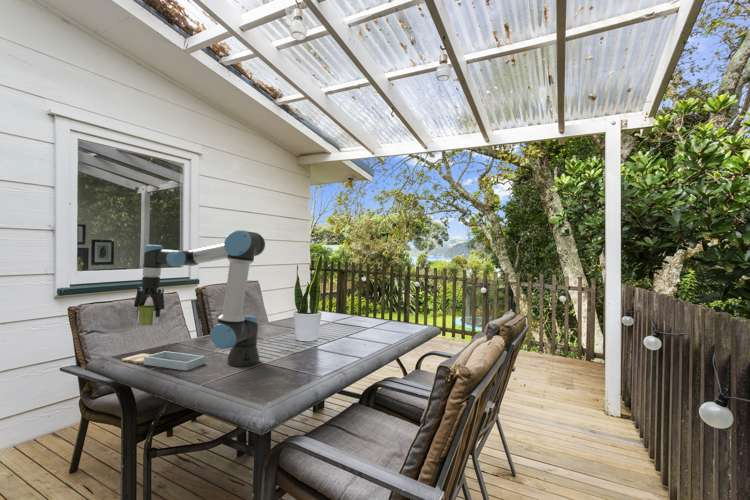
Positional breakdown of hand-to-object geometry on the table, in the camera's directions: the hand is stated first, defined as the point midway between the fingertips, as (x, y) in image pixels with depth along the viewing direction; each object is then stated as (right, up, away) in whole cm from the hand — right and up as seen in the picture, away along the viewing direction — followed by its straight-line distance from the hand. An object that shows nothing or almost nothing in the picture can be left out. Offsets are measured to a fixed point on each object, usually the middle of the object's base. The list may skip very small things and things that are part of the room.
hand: (147, 322), depth 180 cm
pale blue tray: (+16, -19, -5) cm, 25 cm away
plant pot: (0, -1, 0) cm, 1 cm away
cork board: (-3, -18, 0) cm, 18 cm away
